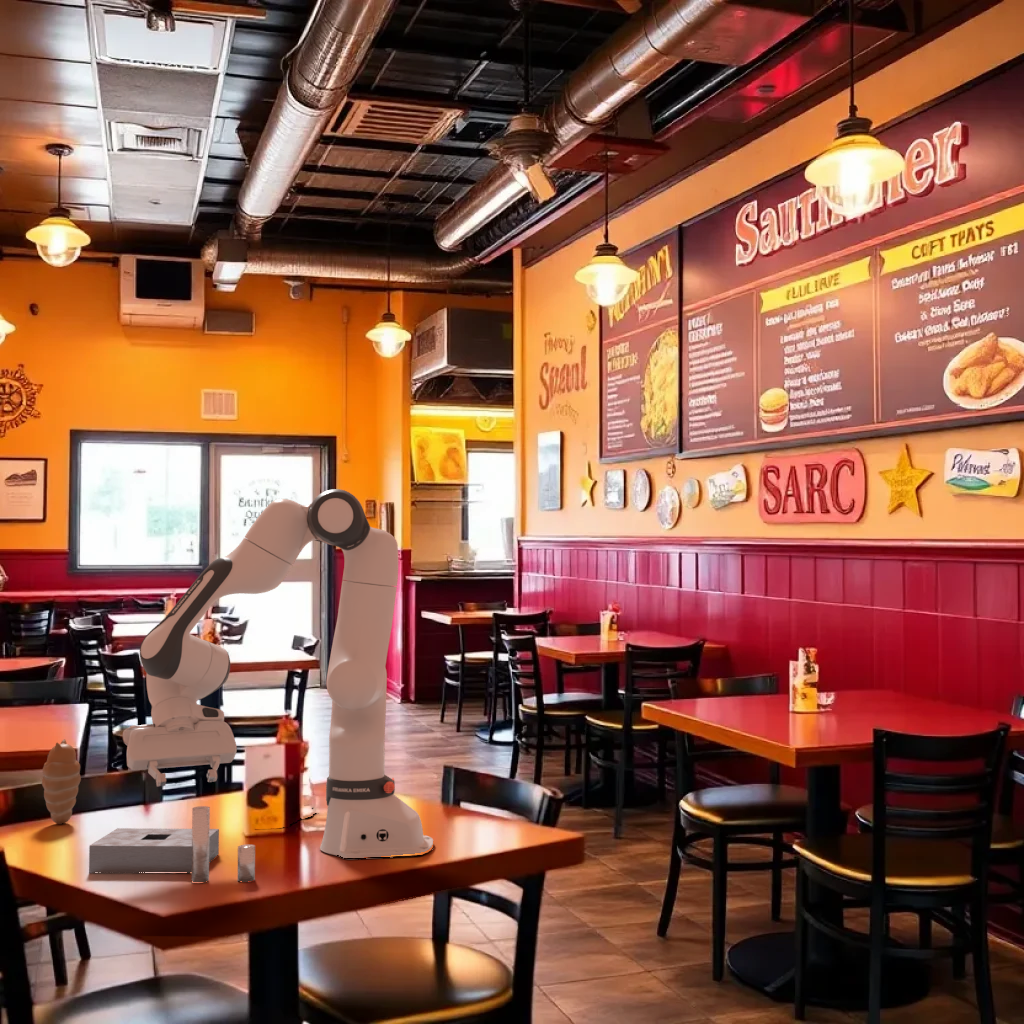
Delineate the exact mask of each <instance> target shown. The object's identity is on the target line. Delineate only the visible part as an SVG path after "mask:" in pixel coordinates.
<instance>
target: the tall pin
mask: <svg viewBox="0 0 1024 1024" xmlns="http://www.w3.org/2000/svg"><path fill="white" fill-rule="evenodd" d="M191 809H192V810H191V811H192V816H191V817H192V819H191V820H192V821H191V825H192V828H191V829H192V874H191V880H192V881H193V882H206V881H208V880H209V881H210V863H209V830H210V829H211V827H210V826H211V825H210V822H211V820H210V817H211V815H210V813H211V807H210V806H206V805H201V806H195V807H192V808H191Z"/></svg>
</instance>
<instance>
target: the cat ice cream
mask: <svg viewBox="0 0 1024 1024" xmlns="http://www.w3.org/2000/svg"><path fill="white" fill-rule="evenodd" d="M45 757H47V760H46V762H44V764H43V767H42V775H43V777H42V778H41V785H42V788H43V789H44V790H43V797H44V798H43V799H44V800H45V805H46V809H47V811H48V812H49V813H50V818H51V820H52V821H53V822H54V823H55V824H56V825H63V824H62V823H64V824H66V823H67V822H69V820H70V819H71V817H72V815H73V808H74V806H75V805H76V804H77V803H76V802H77V798H76V797H77V795H78V793H79V785H80V782H81V781H82V779H81V778H82V777H81V774H80V771H81V764H80V763H79V761H77V753H76V750H75V748H74V746H72V745H71V744H68V743H67V740H66V739H62V740H61V742H60V743H58V742H55V746H53V747H52V748H51V749H50V751H48V753H47V756H45Z"/></svg>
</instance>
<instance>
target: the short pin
mask: <svg viewBox="0 0 1024 1024" xmlns="http://www.w3.org/2000/svg"><path fill="white" fill-rule="evenodd" d="M255 875H256V845H255V844H240V845H239V846H237V882H238V881H242V882H248V881H253V880H254V881H255V880H256V878H255V877H256V876H255ZM254 881H253V882H254ZM248 883H249V882H248Z"/></svg>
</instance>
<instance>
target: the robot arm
mask: <svg viewBox="0 0 1024 1024" xmlns="http://www.w3.org/2000/svg"><path fill="white" fill-rule="evenodd" d="M313 541H316V542H321V543H324V544H327V545H330V546H335V547H337V548H339V549H341V551H342V553H343V559H344V566H343V567H344V568H343V575H342V578H341V579H342V580H341V589H340V595H339V604H338V609H337V611H338V613H337V619H336V625H335V629H334V635H333V640H332V643H331V644H332V645H331V651H330V657H329V662H328V669H327V675H326V689H327V693H328V695H329V697H330V698H331V713H330V714H331V715H330V726H329V727H330V728H329V737H328V738H329V739H328V740H329V741H328V745H329V746H328V753H329V755H328V777H326V783H325V800H326V805H327V810H326V811H327V813H326V819H325V826H324V831H323V837H322V840H321V843H320V847H319V849H320V850H321V852H324V853H326V854H329V855H333V856H337V855H339V856H338V857H340V856H341V857H343V858H342V859H344V858H364V857H381V856H391V855H403V854H415V853H421V852H425V851H427V850H429V849H430V848H431V847H432V845H433V841H434V839H433V837H431V836H428V835H427V834H426V835H424V831H423V830H424V829H423V825H422V820H421V817H420V815H419V813H418V812H417V811H416V810H415V809H413V808H412V807H411V806H409V805H408V804H407V803H406V802H404V801H403V800H402V799H400V798H399V797H398V796H397V795H395V791H396V788H395V787H396V786H395V783H396V782H395V778H394V777H392V778H391V777H389V776H388V775H386V774H385V761H386V760H385V754H386V751H385V748H386V744H385V741H386V738H385V737H386V735H385V734H386V716H387V715H386V714H387V684H388V683H387V682H388V681H387V680H388V678H387V677H388V673H387V672H388V671H387V669H386V664H387V657H388V651H389V645H390V639H391V634H392V628H393V619H394V612H395V605H396V595H397V589H398V587H397V586H398V580H399V548H398V547H399V546H398V541H397V539H396V537H394V536H393V535H392V534H391V533H390V532H388V531H386V530H384V529H381V528H376V527H372V526H370V523H369V521H368V519H367V516H366V514H365V511H364V509H363V506H362V504H361V502H360V501H359V499H358V498H357V497H356V496H355V495H354V494H352V493H351V492H349V491H346V490H345V489H340V488H336V489H335V488H334V489H329V490H325V491H323V492H321V493H320V494H318V495H317V496H316V497H315V498H314V500H312V502H311V503H310V504H306V505H304V504H300V503H298V502H296V501H294V500H291V499H288V498H278V499H275V500H272V501H271V502H270V503H269V504H268V505H267V506H266V508H265V509H263V510H262V512H261V513H260V514H259V516H258V517H257V518H256V520H255V521H254V522H253V523H252V525H251V527H250V528H249V529H248V531H247V532H246V534H245V536H244V537H243V539H242V540H241V542H240V543H239V545H237V546H236V548H235V549H234V550H232V551H231V552H230V553H229V554H227V555H226V556H224V557H220V558H216V559H214V560H213V561H212V562H211V563H209V565H207V567H205V569H204V570H203V571H202V572H201V573H200V575H199V576H198V577H197V578H196V579H195V580H194V581H193V583H192V584H191V586H190V587H189V588H188V589H187V590H186V591H185V593H184V594H183V595H182V596H181V597H180V598H179V600H178V601H177V602H176V604H175V605H173V607H172V608H171V610H170V611H169V612H168V613H167V615H166V616H164V618H163V619H162V620H161V621H160V622H159V623H158V624H156V626H154V627H153V628H152V629H151V630H150V631H149V632H148V633H147V635H145V637H144V639H143V640H142V642H141V644H140V647H139V659H140V662H141V665H142V668H143V669H144V671H145V673H146V677H145V678H146V679H145V681H146V691H147V697H148V701H149V703H150V705H151V710H150V711H151V712H150V714H151V715H150V716H151V720H152V723H147V724H141V725H137V724H134V725H130V726H129V727H127V728H124V730H123V732H122V740H123V743H124V744H125V745H126V746H127V747H126V766H127V768H129V769H130V770H131V771H140V770H142V771H143V770H147V773H148V774H149V775H150V776H151V777H152V778H153V779H154V780H155V783H156V784H155V785H156V787H164V786H166V784H167V777H166V776H167V775H166V773H165V772H164V773H162V772H160V771H159V769H165V768H166V769H168V768H176V767H177V768H178V767H179V768H180V767H193V766H204V765H210V768H212V769H208V770H207V773H206V779H207V782H208V783H212V782H214V783H215V782H217V779H218V768H219V767H220V764H230V763H232V762H233V761H234V759H235V757H236V755H237V750H238V749H237V748H238V747H237V743H236V739H235V736H234V733H233V730H232V728H231V727H230V725H229V724H228V723H227V722H225V712H224V711H223V710H222V709H220V708H214V707H209V706H205V705H201V704H198V700H202V699H204V698H207V697H208V696H210V695H211V694H213V693H214V692H216V691H217V690H219V689H220V688H221V687H222V686H223V685H224V684H226V682H227V681H228V679H229V676H230V671H231V659H230V655H229V653H228V651H227V649H225V648H224V647H221V646H219V645H217V644H215V643H212V642H211V641H208V640H206V639H203V638H200V637H197V636H196V635H193V634H191V631H193V629H194V628H195V627H196V625H197V624H198V623H199V622H200V620H201V619H202V618H203V616H204V615H205V614H206V613H207V612H208V610H209V609H210V608H211V606H212V605H214V603H215V602H216V601H218V600H219V599H221V598H223V597H226V596H229V595H235V594H237V595H238V594H243V595H244V594H245V595H247V594H250V595H256V594H264V593H268V592H270V591H273V590H274V589H276V588H277V587H279V586H280V585H281V584H282V582H283V581H284V580H285V579H286V578H287V576H288V574H289V572H291V569H292V568H293V565H294V564H295V562H296V561H297V559H298V557H299V555H300V554H301V552H302V551H303V550H304V548H305V547H306V546H307V545H308V544H310V543H311V542H313ZM341 857H340V858H341Z"/></svg>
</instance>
